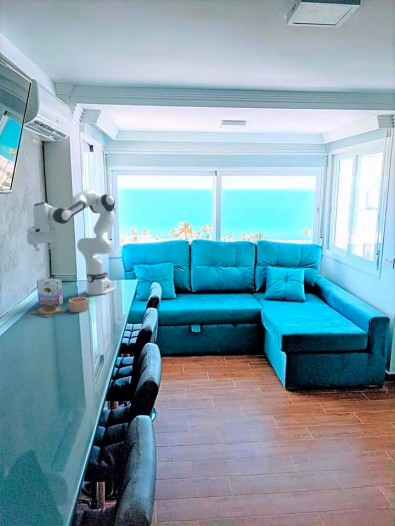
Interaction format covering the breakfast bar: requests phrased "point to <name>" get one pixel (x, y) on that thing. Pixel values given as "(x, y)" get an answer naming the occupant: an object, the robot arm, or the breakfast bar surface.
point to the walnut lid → (49, 309)
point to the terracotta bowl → (78, 304)
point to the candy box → (50, 291)
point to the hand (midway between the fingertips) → (43, 250)
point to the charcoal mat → (48, 315)
